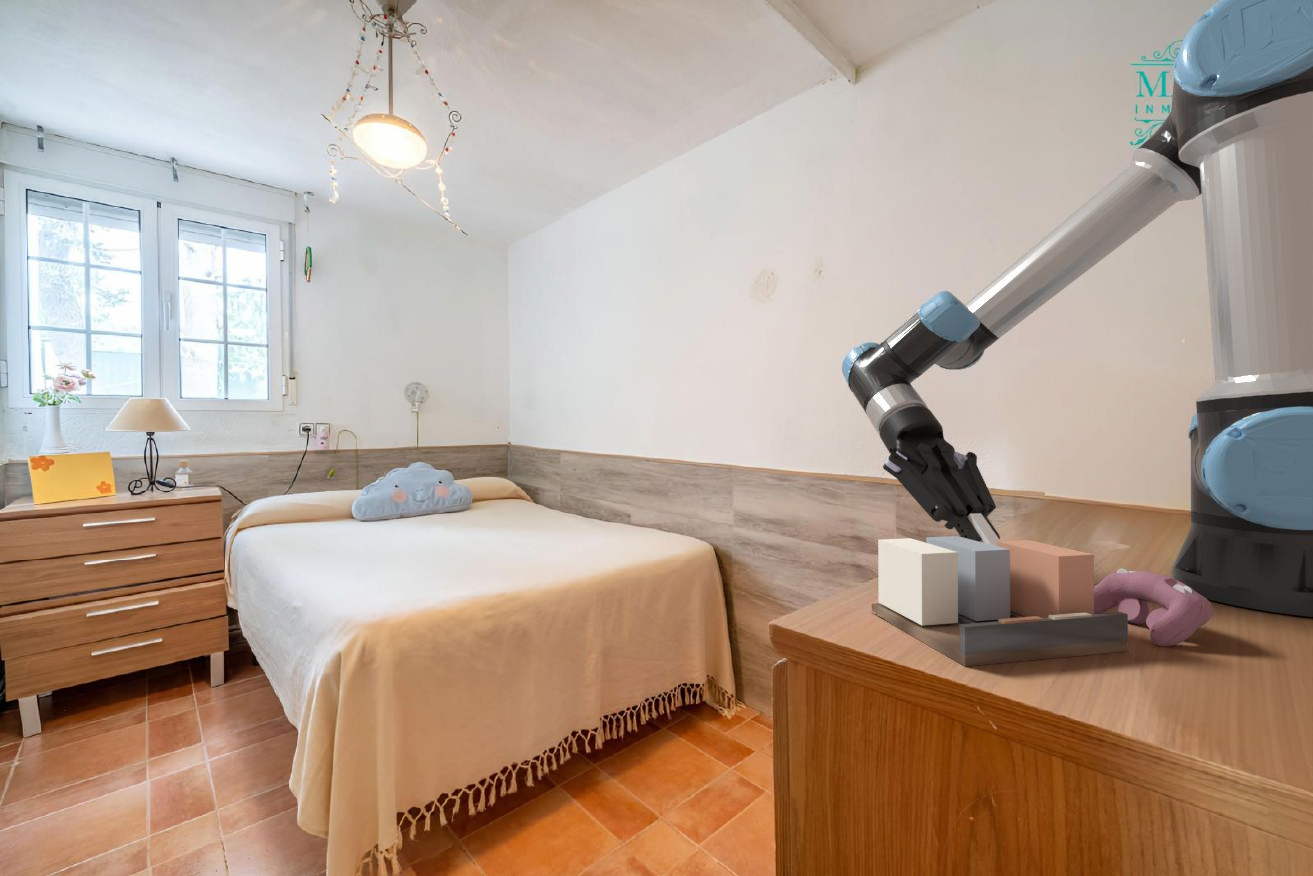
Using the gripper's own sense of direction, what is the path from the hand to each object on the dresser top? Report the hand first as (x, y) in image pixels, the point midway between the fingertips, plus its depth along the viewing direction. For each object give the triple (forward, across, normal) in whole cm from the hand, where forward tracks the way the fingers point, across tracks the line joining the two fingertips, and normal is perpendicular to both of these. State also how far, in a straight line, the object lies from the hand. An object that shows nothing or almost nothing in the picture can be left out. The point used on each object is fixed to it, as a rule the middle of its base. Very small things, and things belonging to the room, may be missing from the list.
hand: (1001, 567), depth 57 cm
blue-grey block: (+4, +6, -2) cm, 7 cm away
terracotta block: (+6, 0, +1) cm, 6 cm away
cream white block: (+4, +12, -2) cm, 12 cm away
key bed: (+6, +6, -1) cm, 8 cm away
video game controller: (+8, -10, +1) cm, 13 cm away
